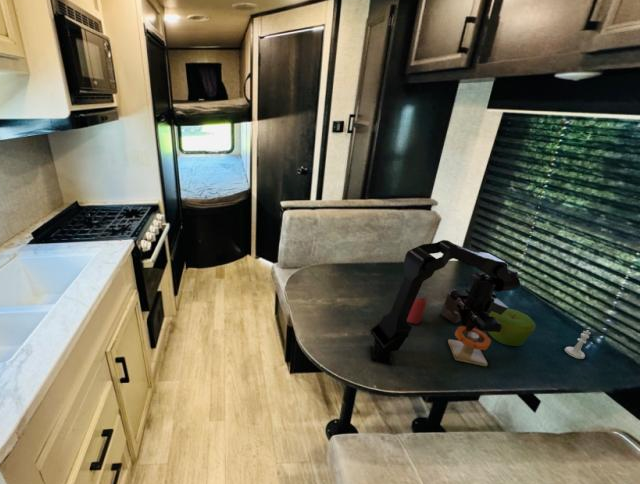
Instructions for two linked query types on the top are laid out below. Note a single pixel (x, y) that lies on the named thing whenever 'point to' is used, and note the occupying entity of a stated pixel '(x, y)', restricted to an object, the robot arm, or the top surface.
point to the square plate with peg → (467, 351)
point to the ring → (470, 343)
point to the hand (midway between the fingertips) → (466, 329)
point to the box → (451, 308)
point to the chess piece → (578, 346)
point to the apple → (513, 327)
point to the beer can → (417, 308)
